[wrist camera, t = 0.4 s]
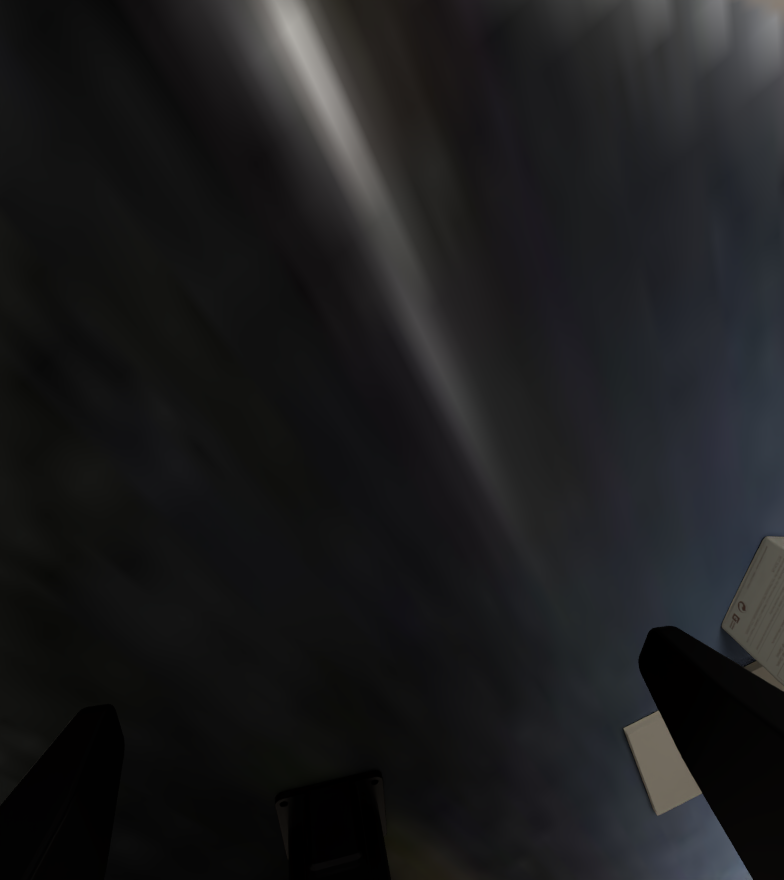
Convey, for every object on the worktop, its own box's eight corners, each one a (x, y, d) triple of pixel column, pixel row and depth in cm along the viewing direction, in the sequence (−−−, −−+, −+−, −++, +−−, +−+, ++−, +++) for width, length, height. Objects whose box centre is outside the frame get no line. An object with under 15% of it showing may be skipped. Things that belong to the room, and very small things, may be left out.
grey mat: (653, 809, 41) (657, 815, 41) (623, 728, 36) (627, 734, 35) (854, 707, 41) (860, 713, 41) (854, 611, 36) (861, 616, 35)
